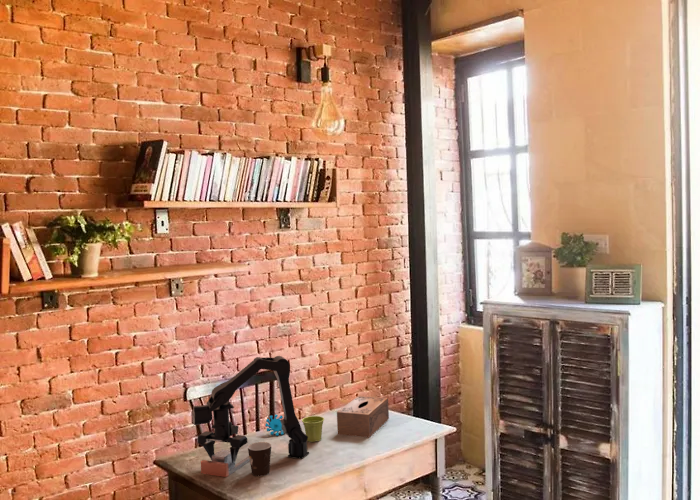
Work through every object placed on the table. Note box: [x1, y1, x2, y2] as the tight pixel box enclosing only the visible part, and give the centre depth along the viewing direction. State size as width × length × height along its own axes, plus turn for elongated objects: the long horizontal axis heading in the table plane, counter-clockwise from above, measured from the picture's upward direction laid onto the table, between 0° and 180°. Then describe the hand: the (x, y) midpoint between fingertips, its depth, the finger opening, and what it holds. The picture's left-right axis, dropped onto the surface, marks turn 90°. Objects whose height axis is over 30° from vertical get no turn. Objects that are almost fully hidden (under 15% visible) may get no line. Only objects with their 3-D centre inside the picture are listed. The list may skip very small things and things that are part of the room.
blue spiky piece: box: [264, 414, 285, 437], centre depth 286 cm, size 11×6×10 cm
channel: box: [200, 455, 250, 478], centre depth 249 cm, size 11×18×4 cm, turn 157°
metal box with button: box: [211, 448, 236, 469], centre depth 247 cm, size 6×8×6 cm
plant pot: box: [301, 415, 325, 443], centre depth 275 cm, size 9×9×9 cm
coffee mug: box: [247, 441, 272, 477], centre depth 240 cm, size 12×9×10 cm
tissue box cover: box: [336, 395, 390, 438], centre depth 290 cm, size 26×14×10 cm, turn 158°
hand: (223, 461), depth 247 cm, fingers open, 9 cm apart
